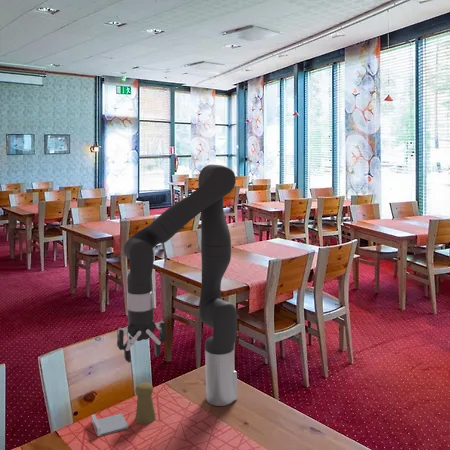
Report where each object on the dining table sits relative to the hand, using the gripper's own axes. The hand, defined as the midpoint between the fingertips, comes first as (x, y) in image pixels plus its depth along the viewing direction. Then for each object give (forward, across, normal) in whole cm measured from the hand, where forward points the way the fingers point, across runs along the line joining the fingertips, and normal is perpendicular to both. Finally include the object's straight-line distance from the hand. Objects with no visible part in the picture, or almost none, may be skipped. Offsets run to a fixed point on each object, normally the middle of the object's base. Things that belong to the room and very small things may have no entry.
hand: (142, 358), depth 149 cm
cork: (+20, 0, 0) cm, 20 cm away
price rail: (+19, +14, -1) cm, 24 cm away
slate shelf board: (+19, +10, -1) cm, 22 cm away
